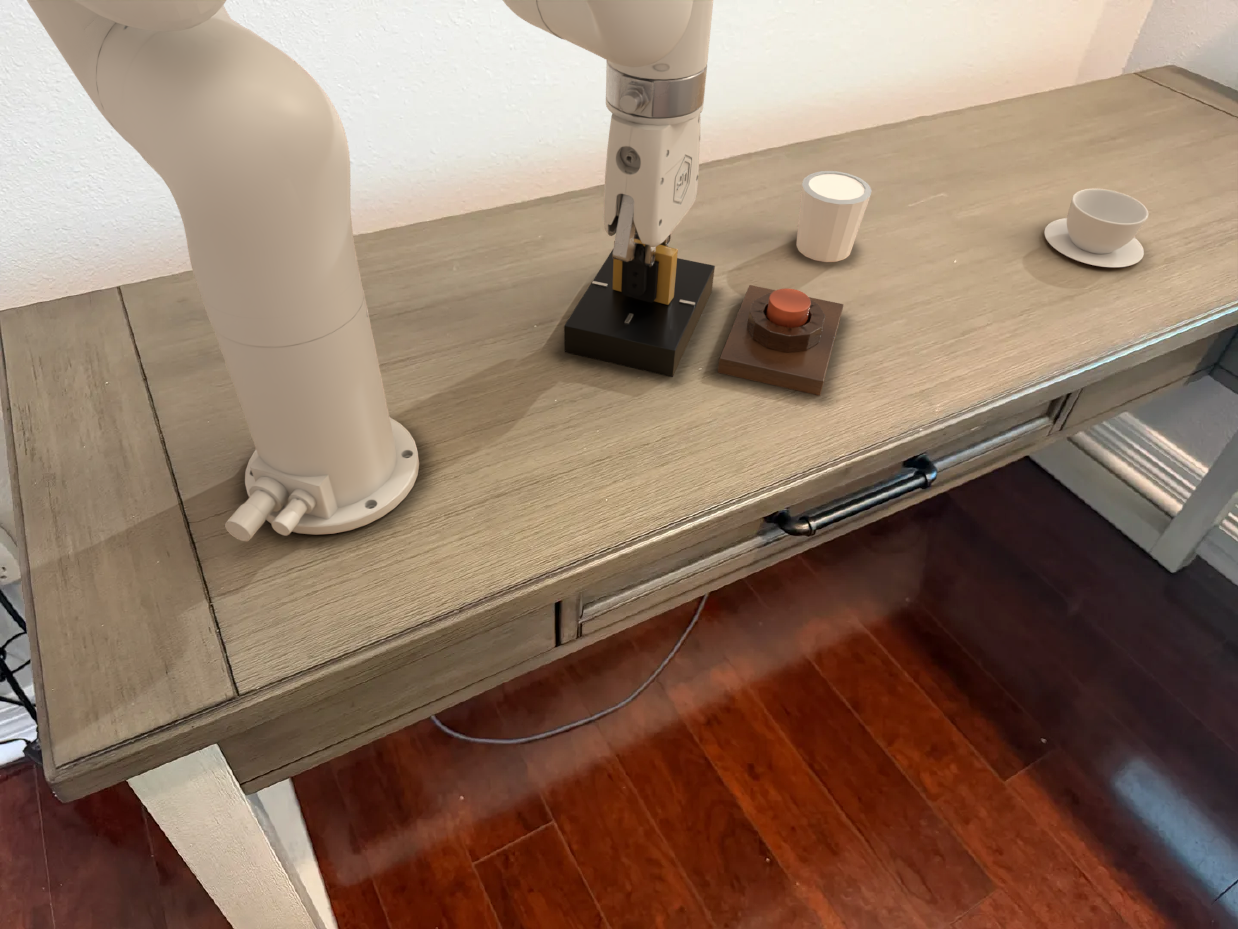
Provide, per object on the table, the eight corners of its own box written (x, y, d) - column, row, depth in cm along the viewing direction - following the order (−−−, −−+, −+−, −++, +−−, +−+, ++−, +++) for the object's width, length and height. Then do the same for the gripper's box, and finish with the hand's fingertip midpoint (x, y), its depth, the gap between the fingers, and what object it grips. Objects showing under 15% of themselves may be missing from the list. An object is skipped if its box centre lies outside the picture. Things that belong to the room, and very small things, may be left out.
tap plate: (672, 378, 77) (675, 348, 75) (564, 353, 79) (563, 324, 77) (711, 292, 87) (715, 263, 84) (614, 271, 89) (615, 243, 86)
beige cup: (780, 254, 92) (792, 191, 87) (803, 224, 96) (815, 163, 91) (845, 273, 90) (860, 209, 85) (864, 242, 94) (880, 180, 89)
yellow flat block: (674, 297, 80) (678, 246, 77) (668, 305, 80) (672, 254, 76) (618, 281, 82) (620, 231, 78) (612, 289, 81) (613, 238, 77)
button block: (819, 396, 76) (827, 364, 73) (717, 373, 78) (721, 341, 75) (840, 318, 84) (848, 287, 82) (747, 299, 86) (751, 267, 83)
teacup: (1130, 282, 90) (1151, 241, 87) (1031, 250, 94) (1048, 210, 91) (1150, 240, 96) (1170, 200, 93) (1056, 212, 100) (1072, 172, 97)
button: (803, 332, 77) (807, 315, 76) (762, 323, 78) (765, 306, 77) (810, 309, 80) (814, 292, 78) (770, 301, 80) (773, 284, 79)
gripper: (662, 136, 61) (648, 350, 74) (735, 59, 72) (712, 259, 85) (564, 114, 63) (567, 326, 76) (649, 42, 74) (639, 240, 87)
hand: (643, 289), depth 80 cm, fingers closed
